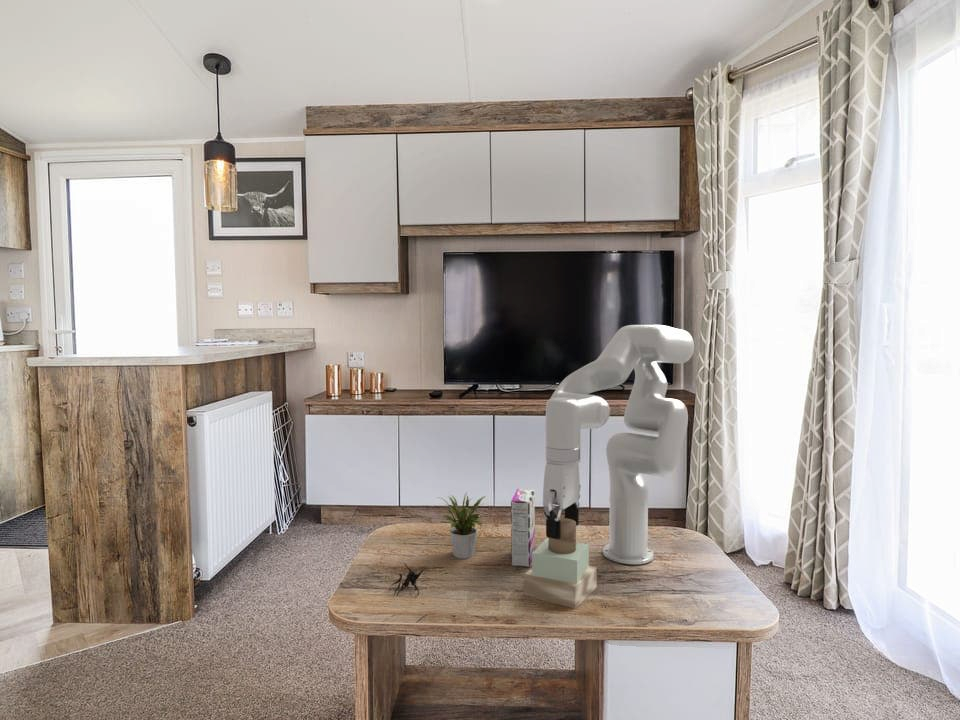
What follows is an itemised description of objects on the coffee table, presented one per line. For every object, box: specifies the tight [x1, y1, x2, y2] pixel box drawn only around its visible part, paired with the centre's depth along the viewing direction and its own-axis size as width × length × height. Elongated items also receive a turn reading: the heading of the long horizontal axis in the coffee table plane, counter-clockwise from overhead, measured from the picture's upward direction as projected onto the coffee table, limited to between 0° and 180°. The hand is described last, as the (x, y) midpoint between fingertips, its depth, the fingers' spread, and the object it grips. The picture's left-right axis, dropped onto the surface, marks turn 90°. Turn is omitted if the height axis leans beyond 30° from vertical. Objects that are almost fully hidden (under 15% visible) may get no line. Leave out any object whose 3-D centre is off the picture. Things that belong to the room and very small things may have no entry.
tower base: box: [523, 564, 598, 610], centre depth 128 cm, size 12×12×5 cm
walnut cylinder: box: [547, 517, 577, 554], centre depth 127 cm, size 6×6×6 cm
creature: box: [388, 562, 426, 599], centre depth 127 cm, size 8×5×8 cm
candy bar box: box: [510, 488, 536, 568], centre depth 146 cm, size 11×5×16 cm, turn 168°
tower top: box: [531, 537, 590, 584], centre depth 127 cm, size 10×10×5 cm
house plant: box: [437, 491, 487, 559], centre depth 148 cm, size 14×14×16 cm
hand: (562, 531), depth 127 cm, fingers open, 9 cm apart
